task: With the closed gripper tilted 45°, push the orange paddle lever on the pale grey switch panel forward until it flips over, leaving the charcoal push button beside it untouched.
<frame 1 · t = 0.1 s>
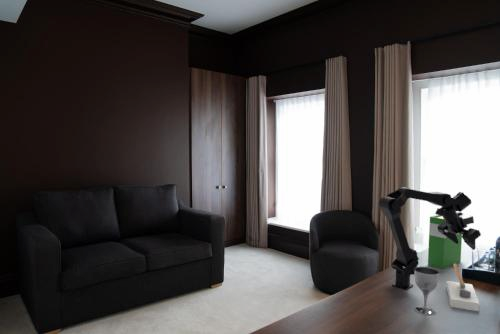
hand: (465, 246, 165), 15 cm above the table, tool tilted 35°, fingers open, 9 cm apart
paddle lever: (459, 275, 150), point 7 cm above the table, hinge at -20.0°
switch panel: (463, 299, 146), on the table
wine glass: (424, 311, 136), on the table
push button: (465, 293, 141), point 4 cm above the table, slide at 0.0 cm
cereal box: (444, 263, 187), on the table
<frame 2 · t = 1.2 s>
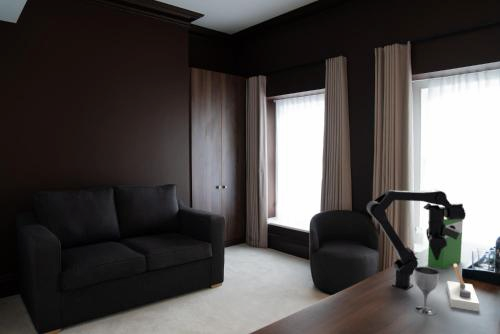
hand: (435, 256, 156), 13 cm above the table, tool pointing down, fingers open, 9 cm apart
nothing on the table moved.
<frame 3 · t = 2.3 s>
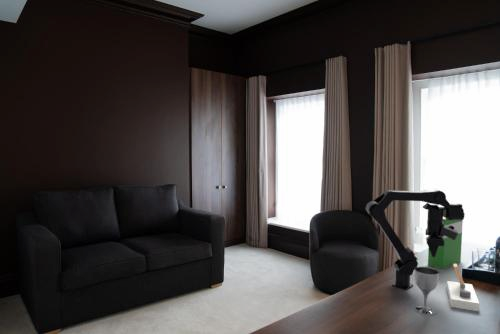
hand: (433, 256, 156), 13 cm above the table, tool pointing down, fingers closed
nothing on the table moved.
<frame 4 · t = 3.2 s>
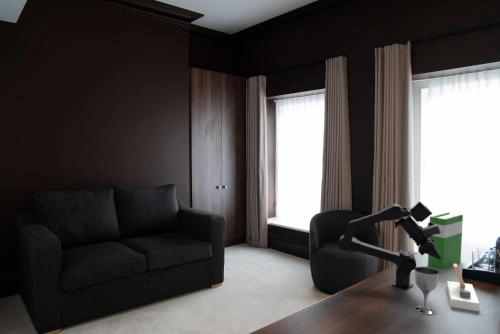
hand: (440, 258, 152), 13 cm above the table, tool tilted 45°, fingers closed
nothing on the table moved.
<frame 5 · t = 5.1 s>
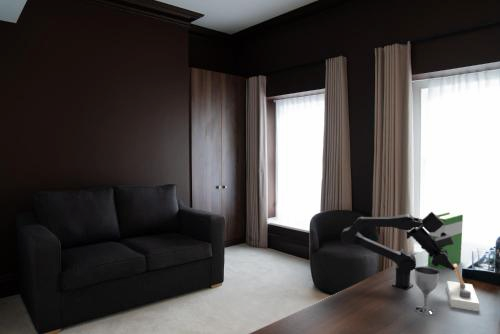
hand: (454, 269, 150), 10 cm above the table, tool tilted 45°, fingers closed, pressing on paddle lever
paddle lever: (459, 275, 150), point 7 cm above the table, hinge at -20.0°, touching gripper
everything else where it was.
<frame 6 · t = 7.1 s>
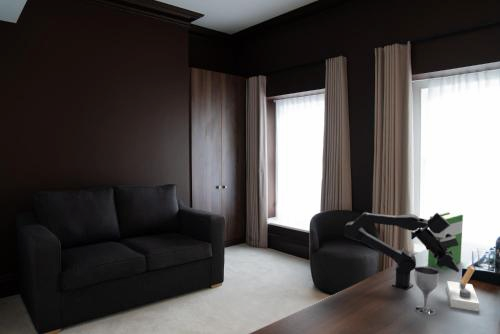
hand: (458, 271, 150), 9 cm above the table, tool tilted 45°, fingers closed
paddle lever: (466, 277, 149), point 7 cm above the table, hinge at 23.0°
everything else where it was.
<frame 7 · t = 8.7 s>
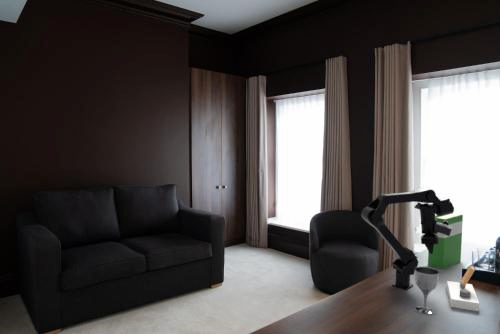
hand: (431, 253, 159), 13 cm above the table, tool pointing down, fingers closed
nothing on the table moved.
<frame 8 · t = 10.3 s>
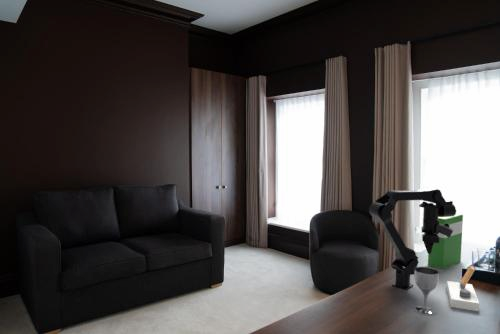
hand: (429, 253, 160), 13 cm above the table, tool pointing down, fingers closed
nothing on the table moved.
at the end: paddle lever at +23° (first picture: -20°); push button slide at 0.0 cm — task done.
